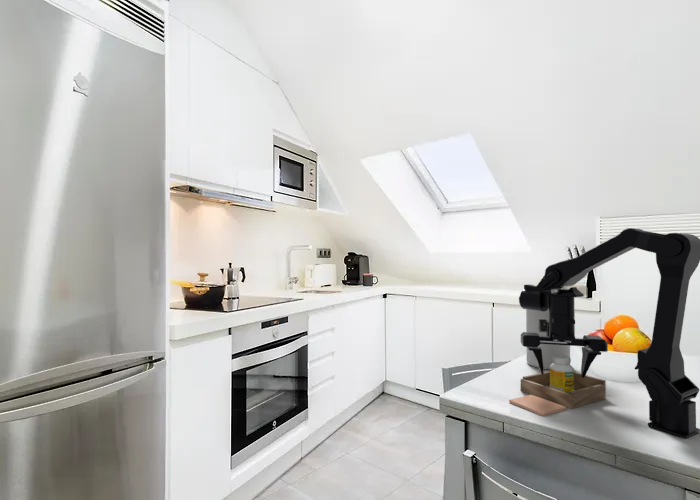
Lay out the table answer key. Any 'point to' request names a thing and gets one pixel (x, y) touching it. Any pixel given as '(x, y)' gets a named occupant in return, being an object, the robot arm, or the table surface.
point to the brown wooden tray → (584, 392)
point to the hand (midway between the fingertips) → (562, 375)
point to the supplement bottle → (562, 374)
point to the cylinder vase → (533, 327)
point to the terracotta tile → (537, 405)
